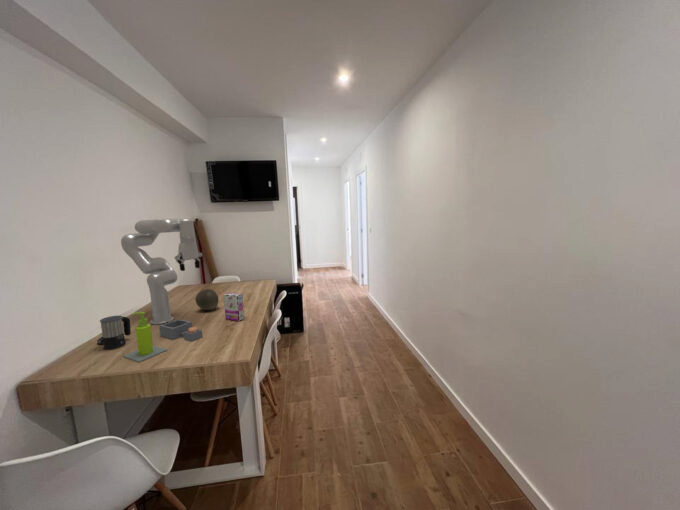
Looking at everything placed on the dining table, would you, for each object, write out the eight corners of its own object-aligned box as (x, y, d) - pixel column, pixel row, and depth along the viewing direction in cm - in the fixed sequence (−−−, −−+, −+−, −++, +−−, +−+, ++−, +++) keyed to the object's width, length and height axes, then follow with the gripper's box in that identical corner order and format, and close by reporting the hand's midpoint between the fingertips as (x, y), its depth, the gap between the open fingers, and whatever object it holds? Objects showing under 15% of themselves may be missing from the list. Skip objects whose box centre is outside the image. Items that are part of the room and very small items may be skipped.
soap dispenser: (140, 350, 144) (136, 310, 141) (155, 349, 144) (151, 310, 142) (133, 355, 138) (128, 314, 135) (149, 354, 139) (144, 313, 136)
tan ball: (187, 334, 157) (186, 328, 157) (193, 331, 161) (193, 326, 161) (192, 335, 156) (191, 330, 155) (198, 332, 159) (198, 327, 159)
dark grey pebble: (212, 306, 216) (210, 286, 214) (223, 309, 208) (221, 288, 206) (193, 311, 205) (191, 290, 203) (204, 315, 197) (202, 293, 195)
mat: (123, 356, 139) (123, 355, 139) (151, 345, 150) (151, 344, 150) (139, 362, 133) (139, 361, 133) (167, 350, 144) (167, 349, 144)
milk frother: (118, 349, 147) (115, 320, 145) (84, 351, 145) (80, 323, 143) (134, 338, 161) (131, 311, 159) (103, 340, 159) (99, 313, 157)
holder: (160, 336, 162) (159, 325, 162) (179, 329, 172) (178, 319, 172) (187, 343, 152) (186, 332, 151) (206, 335, 162) (205, 324, 161)
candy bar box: (244, 319, 187) (242, 293, 185) (239, 321, 182) (237, 295, 180) (230, 317, 191) (229, 292, 189) (225, 319, 187) (223, 294, 185)
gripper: (196, 239, 181) (198, 266, 183) (169, 241, 166) (172, 271, 168) (204, 239, 178) (207, 267, 180) (177, 241, 163) (180, 272, 165)
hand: (190, 269), depth 174 cm, fingers open, 9 cm apart
